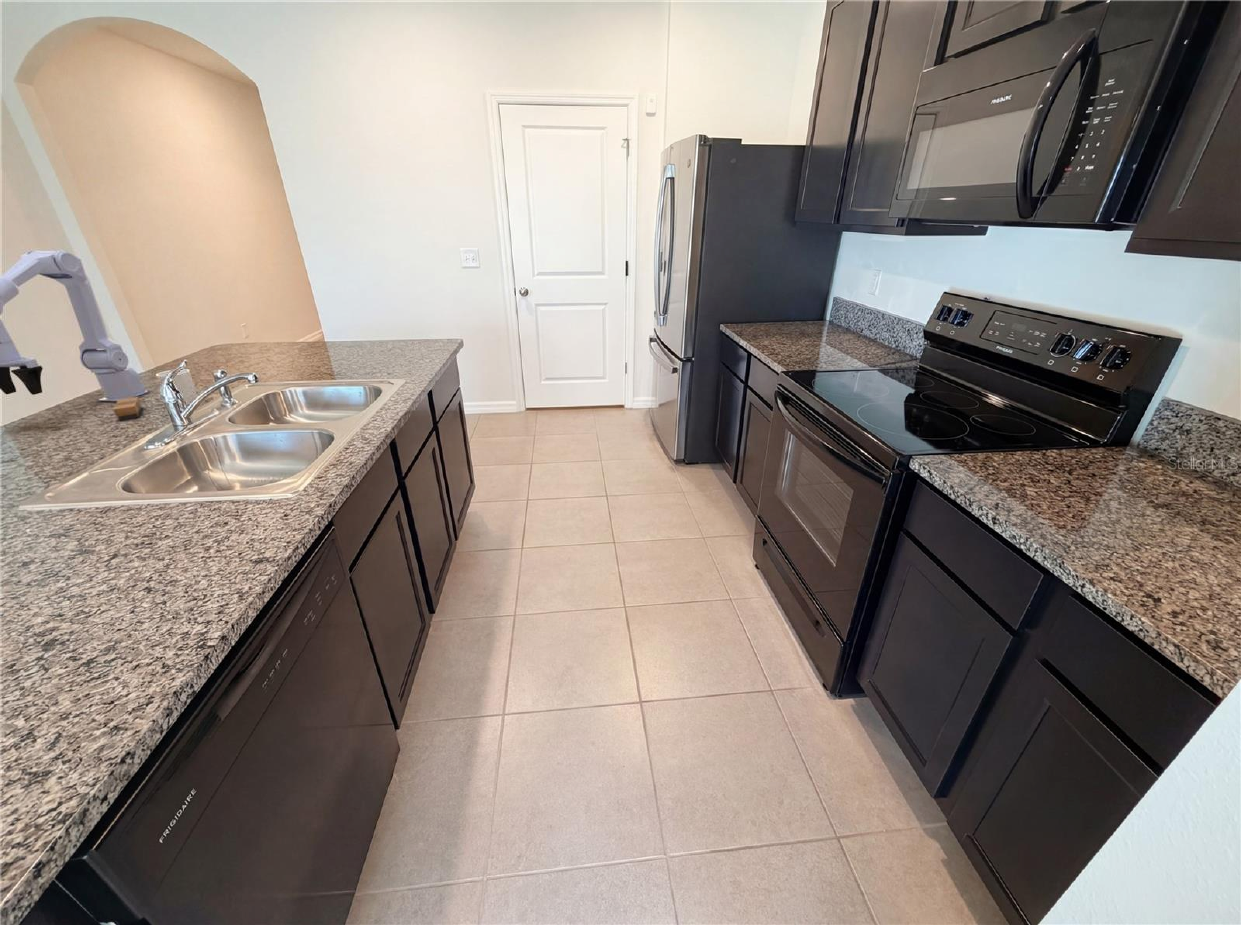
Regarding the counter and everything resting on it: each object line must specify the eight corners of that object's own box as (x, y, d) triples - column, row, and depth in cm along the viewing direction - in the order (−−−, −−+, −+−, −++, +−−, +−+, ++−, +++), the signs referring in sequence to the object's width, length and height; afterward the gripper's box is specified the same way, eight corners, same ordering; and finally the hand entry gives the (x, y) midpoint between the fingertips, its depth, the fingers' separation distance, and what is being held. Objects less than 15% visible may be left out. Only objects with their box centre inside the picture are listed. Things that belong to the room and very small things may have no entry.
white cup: (162, 406, 155) (149, 375, 150) (189, 398, 162) (177, 368, 157) (181, 409, 153) (168, 377, 148) (207, 400, 159) (195, 370, 155)
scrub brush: (123, 410, 152) (118, 399, 150) (142, 407, 154) (137, 396, 152) (118, 421, 144) (113, 409, 142) (139, 418, 146) (134, 406, 144)
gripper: (-50, 346, 126) (-19, 397, 132) (4, 346, 125) (32, 398, 131) (-16, 339, 133) (12, 389, 139) (35, 340, 132) (61, 390, 138)
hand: (24, 393), depth 136 cm, fingers open, 7 cm apart
